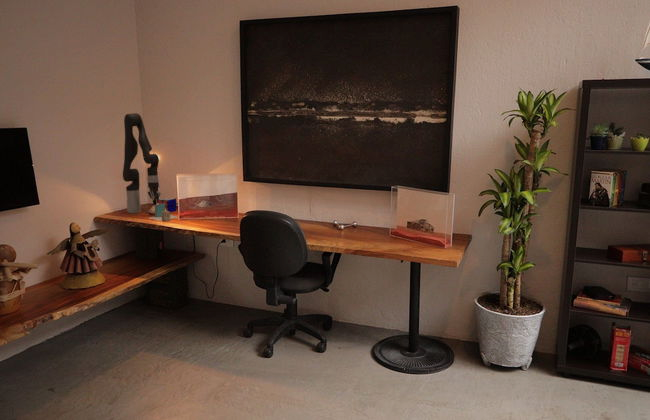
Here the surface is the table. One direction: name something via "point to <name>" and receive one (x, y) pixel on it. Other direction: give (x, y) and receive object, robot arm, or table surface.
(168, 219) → the block
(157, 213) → the tile
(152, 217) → the mat
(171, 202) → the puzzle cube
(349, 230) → the table surface
